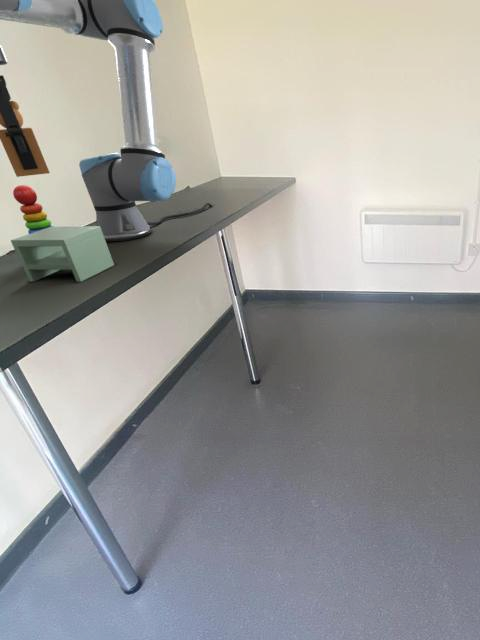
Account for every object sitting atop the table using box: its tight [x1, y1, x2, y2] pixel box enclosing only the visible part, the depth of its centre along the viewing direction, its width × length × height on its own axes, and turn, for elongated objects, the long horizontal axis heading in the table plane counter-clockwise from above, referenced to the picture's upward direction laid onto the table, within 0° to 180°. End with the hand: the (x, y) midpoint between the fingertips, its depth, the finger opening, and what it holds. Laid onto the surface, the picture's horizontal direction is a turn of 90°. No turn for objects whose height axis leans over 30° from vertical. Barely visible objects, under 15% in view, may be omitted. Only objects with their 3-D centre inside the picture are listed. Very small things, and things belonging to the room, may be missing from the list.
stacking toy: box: [12, 184, 55, 234], centre depth 133 cm, size 8×8×19 cm
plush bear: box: [0, 100, 50, 178], centre depth 106 cm, size 6×6×14 cm
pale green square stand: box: [10, 225, 115, 283], centre depth 120 cm, size 13×14×10 cm
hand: (30, 167), depth 110 cm, fingers closed on plush bear, 5 cm apart
